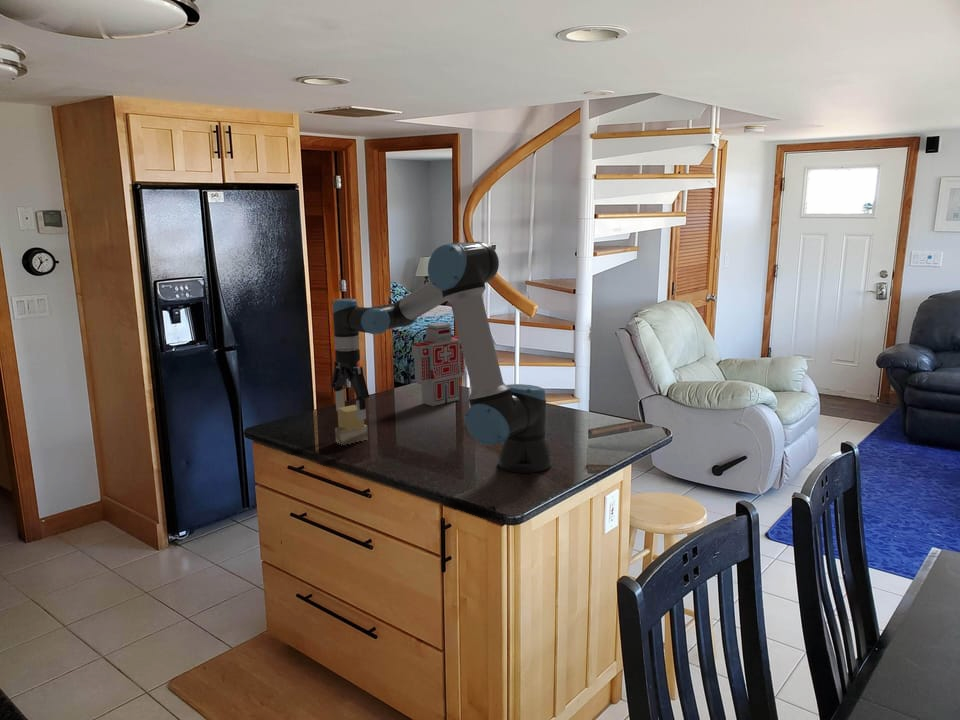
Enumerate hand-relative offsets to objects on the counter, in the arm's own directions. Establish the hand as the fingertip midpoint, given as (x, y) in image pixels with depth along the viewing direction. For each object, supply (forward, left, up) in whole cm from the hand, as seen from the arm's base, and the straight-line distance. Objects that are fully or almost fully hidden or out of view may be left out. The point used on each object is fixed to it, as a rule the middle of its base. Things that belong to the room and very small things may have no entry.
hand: (350, 414), depth 228 cm
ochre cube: (0, 0, -4) cm, 4 cm away
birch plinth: (0, 0, -9) cm, 9 cm away
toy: (+20, -49, -9) cm, 54 cm away
